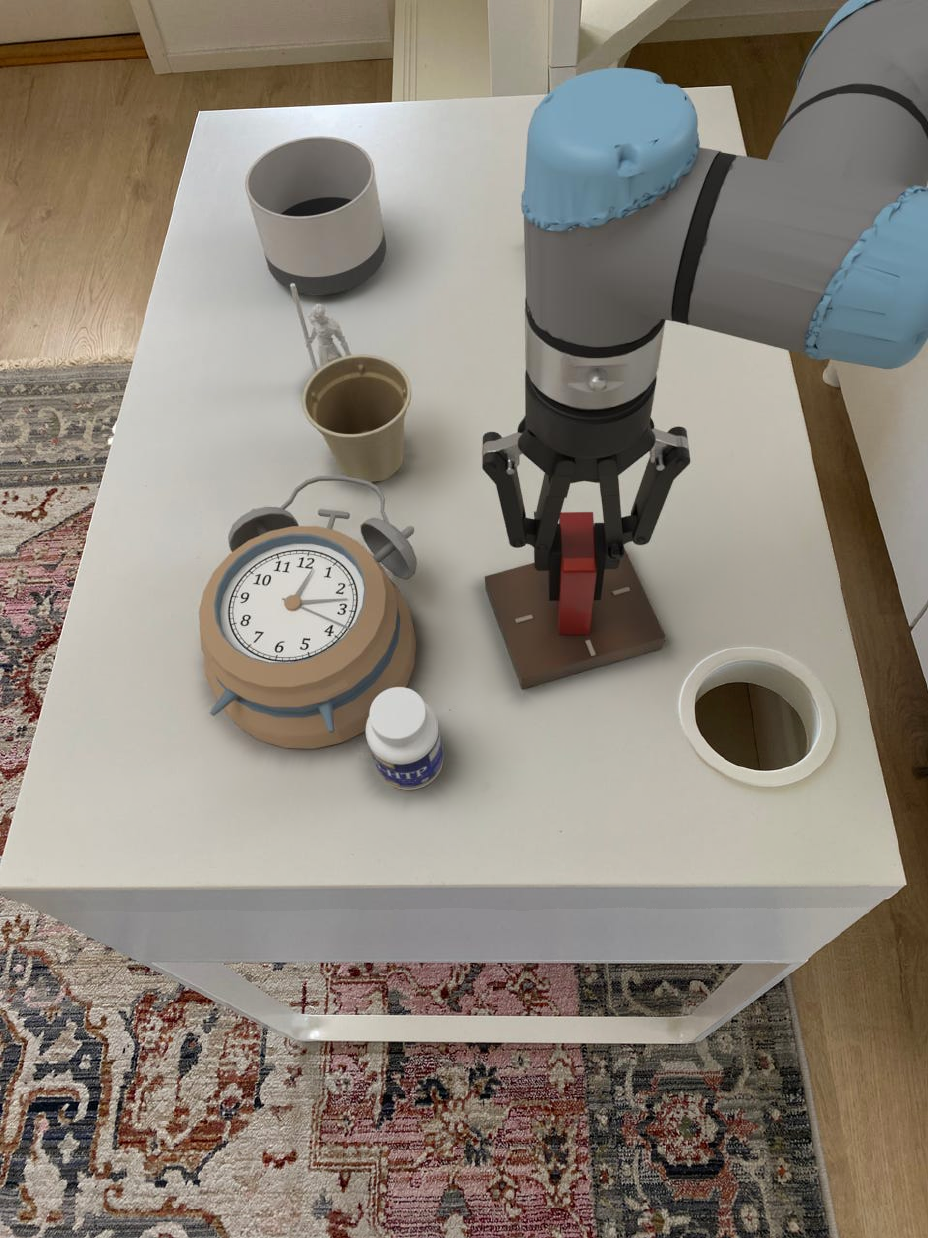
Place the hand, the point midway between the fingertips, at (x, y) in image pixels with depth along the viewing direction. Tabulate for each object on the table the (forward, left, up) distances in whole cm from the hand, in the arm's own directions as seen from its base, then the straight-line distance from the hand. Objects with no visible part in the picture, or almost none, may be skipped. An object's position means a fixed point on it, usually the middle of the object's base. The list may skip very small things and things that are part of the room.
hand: (574, 585), depth 74 cm
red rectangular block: (0, 0, -3) cm, 3 cm away
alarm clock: (+20, -6, -5) cm, 22 cm away
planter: (+10, -50, -5) cm, 51 cm away
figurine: (+13, -32, -5) cm, 35 cm away
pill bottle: (+16, +8, -5) cm, 19 cm away
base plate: (0, 0, -5) cm, 5 cm away
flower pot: (+12, -22, -5) cm, 26 cm away
